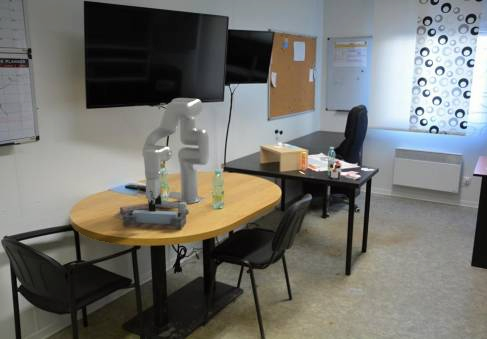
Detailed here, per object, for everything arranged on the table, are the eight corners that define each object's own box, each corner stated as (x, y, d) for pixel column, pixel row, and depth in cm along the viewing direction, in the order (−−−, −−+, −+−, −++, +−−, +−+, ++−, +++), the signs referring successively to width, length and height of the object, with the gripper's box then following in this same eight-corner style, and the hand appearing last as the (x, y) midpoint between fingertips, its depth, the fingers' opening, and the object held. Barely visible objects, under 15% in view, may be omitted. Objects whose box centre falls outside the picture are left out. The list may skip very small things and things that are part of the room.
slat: (132, 222, 211) (131, 212, 209) (135, 219, 214) (134, 210, 213) (175, 224, 208) (175, 214, 207) (178, 221, 212) (177, 211, 211)
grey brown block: (150, 201, 234) (154, 206, 225) (150, 209, 235) (155, 215, 227) (116, 205, 226) (120, 211, 218) (117, 214, 228) (120, 220, 219)
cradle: (123, 227, 208) (122, 216, 207) (130, 219, 218) (130, 209, 217) (181, 229, 205) (181, 218, 204) (186, 222, 215) (185, 212, 214)
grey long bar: (155, 198, 241) (189, 200, 227) (157, 209, 242) (191, 212, 228) (149, 201, 237) (183, 202, 223) (150, 212, 238) (185, 214, 224)
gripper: (151, 169, 214) (153, 201, 219) (139, 179, 198) (142, 214, 202) (165, 169, 214) (167, 201, 218) (155, 180, 197) (157, 214, 202)
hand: (155, 207), depth 210 cm, fingers open, 9 cm apart
